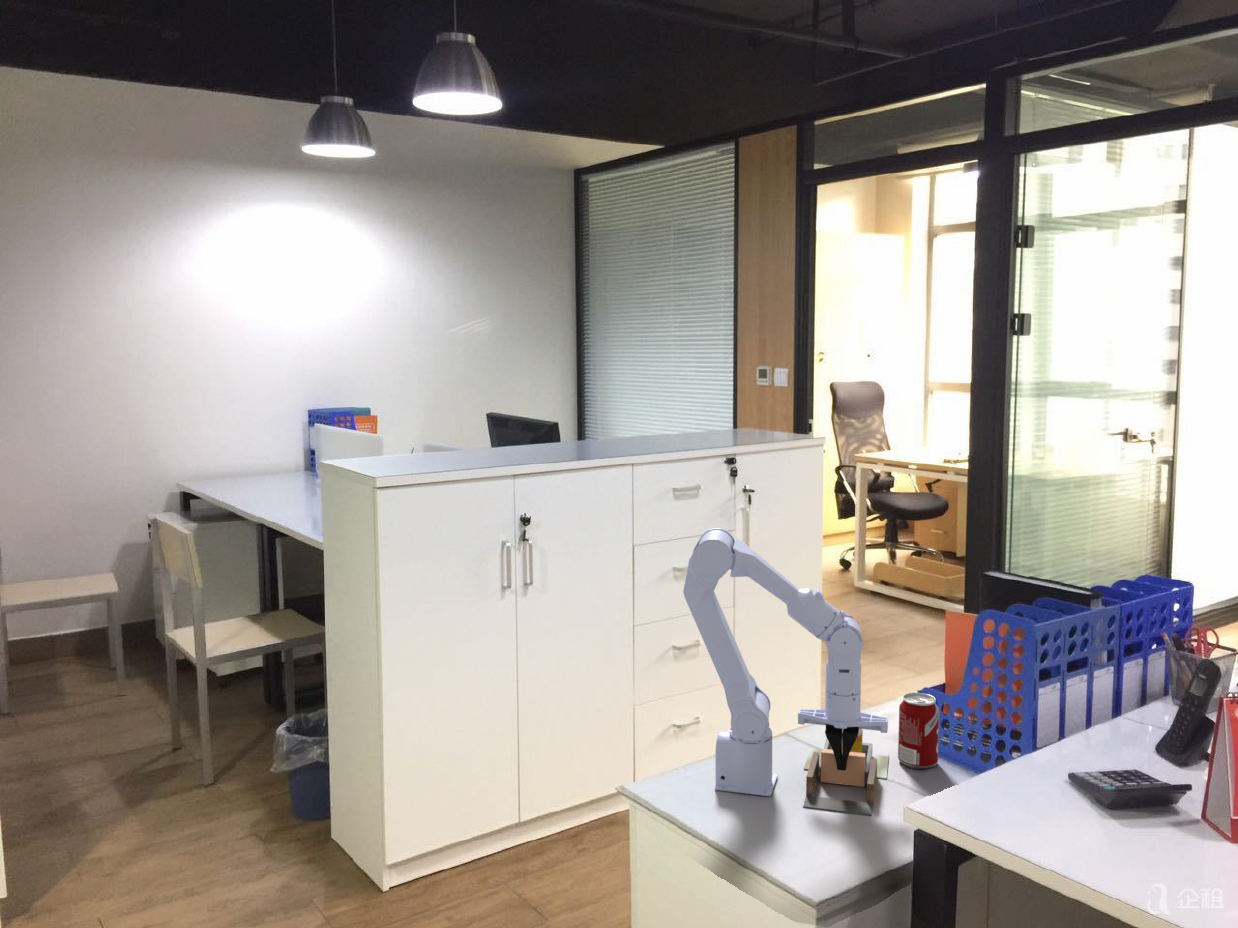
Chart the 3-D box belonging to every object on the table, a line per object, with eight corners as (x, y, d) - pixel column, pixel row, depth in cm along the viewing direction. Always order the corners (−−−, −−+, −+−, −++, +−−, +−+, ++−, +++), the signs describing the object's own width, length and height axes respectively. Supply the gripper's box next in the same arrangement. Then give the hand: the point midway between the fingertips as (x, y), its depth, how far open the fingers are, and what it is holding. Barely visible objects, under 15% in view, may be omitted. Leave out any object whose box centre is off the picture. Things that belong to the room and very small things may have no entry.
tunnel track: (793, 805, 166) (793, 785, 165) (810, 748, 187) (810, 730, 187) (882, 817, 161) (882, 796, 161) (888, 757, 183) (889, 738, 182)
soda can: (915, 774, 176) (916, 708, 174) (890, 759, 182) (891, 695, 181) (945, 766, 179) (947, 701, 177) (920, 752, 185) (921, 688, 183)
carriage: (817, 781, 173) (818, 751, 173) (826, 749, 186) (826, 721, 185) (867, 787, 171) (867, 757, 170) (872, 754, 184) (872, 726, 183)
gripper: (795, 694, 167) (795, 772, 169) (887, 702, 162) (885, 783, 164) (801, 679, 173) (800, 755, 175) (889, 687, 169) (887, 764, 171)
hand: (841, 767), depth 170 cm, fingers closed, pressing on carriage
